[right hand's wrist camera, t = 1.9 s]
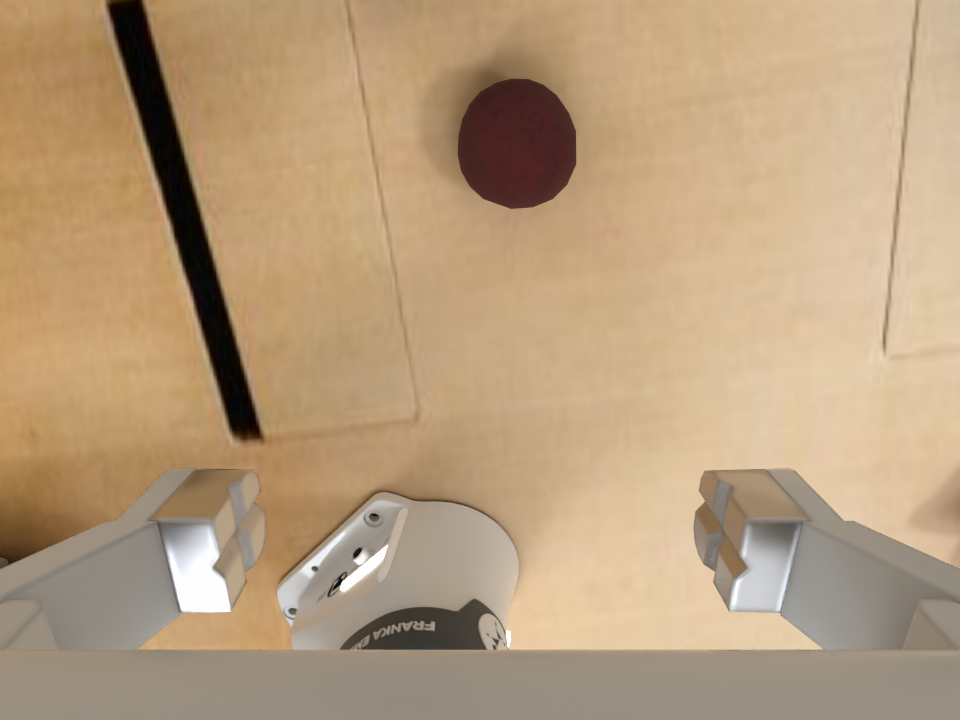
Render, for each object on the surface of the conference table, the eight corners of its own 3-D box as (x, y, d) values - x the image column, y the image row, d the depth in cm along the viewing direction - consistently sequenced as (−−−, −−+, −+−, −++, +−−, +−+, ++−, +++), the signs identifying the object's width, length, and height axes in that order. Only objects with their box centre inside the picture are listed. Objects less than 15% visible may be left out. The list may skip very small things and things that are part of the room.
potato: (527, 60, 37) (535, 42, 30) (590, 163, 39) (611, 167, 32) (436, 132, 38) (425, 129, 32) (502, 227, 40) (504, 243, 34)
